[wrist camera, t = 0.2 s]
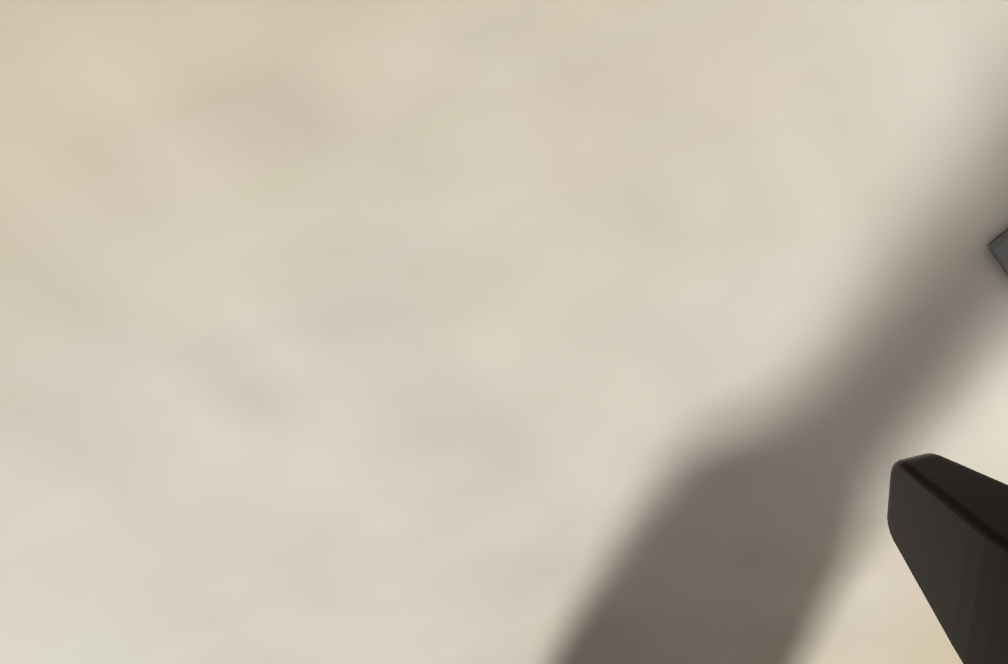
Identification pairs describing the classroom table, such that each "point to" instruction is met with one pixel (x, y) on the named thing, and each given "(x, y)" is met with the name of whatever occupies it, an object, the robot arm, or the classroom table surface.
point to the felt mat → (1001, 250)
